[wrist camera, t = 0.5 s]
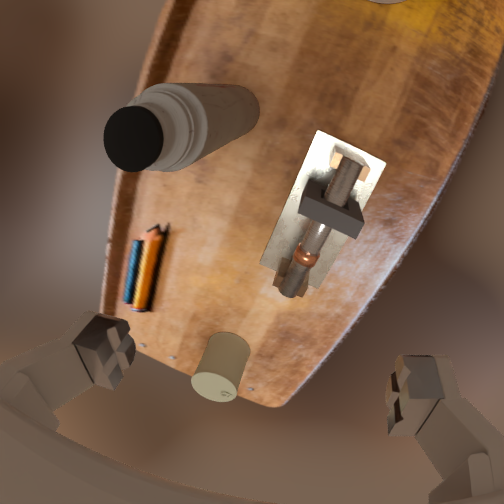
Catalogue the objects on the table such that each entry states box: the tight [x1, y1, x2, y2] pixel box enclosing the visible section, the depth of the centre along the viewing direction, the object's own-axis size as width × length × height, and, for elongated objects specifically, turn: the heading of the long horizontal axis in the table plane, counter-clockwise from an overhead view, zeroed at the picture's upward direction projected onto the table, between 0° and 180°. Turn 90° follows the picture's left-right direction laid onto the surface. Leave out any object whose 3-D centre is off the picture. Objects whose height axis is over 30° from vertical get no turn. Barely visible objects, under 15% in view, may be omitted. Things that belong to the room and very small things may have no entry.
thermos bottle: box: [104, 83, 260, 172], centre depth 32 cm, size 8×8×28 cm
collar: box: [298, 179, 365, 239], centre depth 42 cm, size 2×8×8 cm, turn 70°
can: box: [191, 332, 250, 402], centre depth 62 cm, size 9×9×12 cm
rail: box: [259, 130, 386, 298], centre depth 46 cm, size 24×11×8 cm, turn 160°
